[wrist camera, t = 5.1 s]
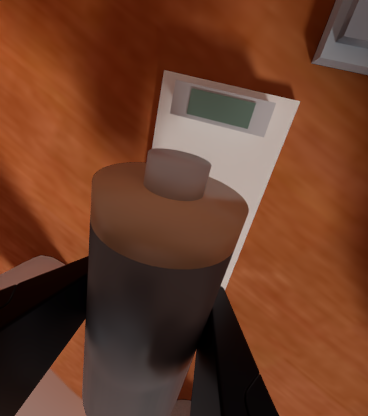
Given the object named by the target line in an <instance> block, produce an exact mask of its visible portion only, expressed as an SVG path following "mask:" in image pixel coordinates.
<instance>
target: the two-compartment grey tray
mask: <svg viewBox="0 0 368 416" xmlns="http://www.w3.org/2000/svg"><path fill="white" fill-rule="evenodd" d="M312 64H317V65H322V66H327V67H331V68H336V69H341V70H346V71H350V72H355V73H360V74H365V75H368V0H336V2H335V4H334V7H333V9H332V12H331V14H330V17H329V20H328V22H327V25H326V27H325V30H324V32H323V35H322V37H321V40H320V43H319V45H318V48H317V50H316V53H315V55H314V58H313V60H312Z"/></svg>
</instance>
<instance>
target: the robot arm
mask: <svg viewBox="0 0 368 416" xmlns="http://www.w3.org/2000/svg"><path fill="white" fill-rule="evenodd" d="M88 259H89V256H87V257H85V258H82V259H80V260H77V261H74V262H72V263H69V264H67V265H64V266H61V267H59V268H56V269H54V270H51V271H49V272H46V273H43V274H41V275H38V276H36V277H33V278H30V279H28V280H25V281H23V282H20V283H18V284H17V285H16V284H15V285H12V286H10V287H7V288H4V289H2V290H0V416H15V414H16V413H17V412H18V410H19V409H20V408H21V406H22V405H23V403H24V402H25V400H26V399H27V398H28V397H29V395H30V394H31V392H32V391H33V390H34V388H35V387H36V386H37V384H38V383H39V382H40V380H41V379H42V378H43V376H44V375H45V373H46V372H47V371H48V369H49V368H50V367H51V365H52V364H53V362H54V361H55V360H56V358H57V357H58V356H59V354H60V353H61V352H62V350H63V349H64V347H65V346H66V345H67V343H68V342H69V341H70V339H71V338H72V336H73V335H74V334H75V332H76V331H77V330H78V328H79V327H80V326H81V324H82V323H83V321H84V320H85V319H86V303H87V281H88ZM190 416H279V414H278V412H277V410H276V408H275V406H274V404H273V402H272V399H271V397H270V395H269V393H268V391H267V388H266V386H265V384H264V381H263V379H262V377H261V375H260V374H259V370H258V368H257V365H256V363H255V360H254V358H253V356H252V353H251V351H250V349H249V346H248V344H247V342H246V339H245V337H244V335H243V332H242V330H241V328H240V325H239V323H238V321H237V318H236V316H235V314H234V311H233V309H232V306H231V304H230V302H229V299H228V297H227V295H226V292H225V290H224V288H223V287H222V286H220V289H219V291H218V294H217V297H216V299H215V302H214V304H213V307H212V310H211V312H210V315H209V317H208V320H207V323H206V325H205V328H204V330H203V333H202V336H201V338H200V341H199V344H198V346H197V350H196V360H195V370H194V380H193V390H192V400H191V409H190Z"/></svg>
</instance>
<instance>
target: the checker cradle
mask: <svg viewBox="0 0 368 416" xmlns="http://www.w3.org/2000/svg"><path fill="white" fill-rule="evenodd" d="M299 103H300V101H297V100H292V99H288V98H284V97H279V96H275V95H271V94H266V93H262V92H258V91H253V90H249V89H245V88H240V87H236V86H232V85H227V84H223V83H219V82H214V81H210V80H206V79H201V78H197V77H193V76H188V75H184V74H179V73H175V72H171V71H166V70H164V74H163V80H162V87H161V93H160V99H159V106H158V112H157V119H156V125H155V132H154V138H153V145H152V149H155V148H164V149H172V150H178V151H183V152H187V153H190V154H193V155H196V156H199V157H201V158H203V159H205V160H207V161H209V162H210V163H211V165H212V166H211V170H210V173H209V177H211V178H213V179H216V180H218V181H220V182H222V183H224V184H225V185H227V186H229V187H230V188H232V189H233V190H235V191H236V192H237V193H239V194H240V195H241V196H242V197H243V198H244V200H245V201H246V203H247V205H248V208H249V213H248V216H247V218H246V221H245V223H244V226H243V229H242V231H241V234H240V237H239V239H238V242H237V244H236V247H235V250H234V252H233V255H232V257H231V260H230V263H229V265H228V268H227V270H226V273H225V276H224V278H223V281H222V283H221V286H222V287H223V288H224V290H225V289H226V286H227V284H228V281H229V279H230V276H231V274H232V271H233V269H234V266H235V264H236V261H237V259H238V256H239V254H240V251H241V249H242V246H243V244H244V241H245V239H246V236H247V234H248V231H249V229H250V226H251V224H252V221H253V219H254V216H255V214H256V211H257V209H258V206H259V203H260V201H261V198H262V196H263V193H264V191H265V188H266V186H267V183H268V181H269V178H270V176H271V173H272V171H273V168H274V166H275V163H276V161H277V158H278V156H279V153H280V151H281V148H282V146H283V143H284V141H285V138H286V136H287V133H288V131H289V128H290V126H291V123H292V121H293V118H294V116H295V113H296V111H297V108H298V106H299Z"/></svg>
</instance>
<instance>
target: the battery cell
mask: <svg viewBox="0 0 368 416" xmlns="http://www.w3.org/2000/svg"><path fill="white" fill-rule="evenodd" d="M211 166H212V165H211V163H210V162H209V161H207V160H205V159H203V158H201V157H199V156H196V155H193V154H190V153H187V152H183V151H178V150H172V149H164V148H155V149H150V150H149V151H148V155H147V162H146V163H144V162H129V163H119V164H114V165H110V166H107V167H104V168H102V169H100V170H99V171H97V172H96V173H95V174H94V176H93V179H92V193H91V215H90V237H89V259H88V281H87V303H86V324H85V346H84V368H83V392H82V398H83V406H84V409H85V413H86V415H87V416H170V414H171V413H172V411H173V408H174V406H175V404H176V401H177V398H178V396H179V393H180V390H181V388H182V385H183V383H184V380H185V377H186V375H187V372H188V370H189V367H190V364H191V362H192V359H193V357H194V354H195V351H196V349H197V346H198V344H199V341H200V338H201V336H202V333H203V330H204V328H205V325H206V323H207V320H208V317H209V315H210V312H211V310H212V307H213V304H214V302H215V299H216V297H217V294H218V291H219V289H220V286H221V283H222V281H223V278H224V276H225V273H226V270H227V268H228V265H229V263H230V260H231V257H232V255H233V252H234V250H235V247H236V244H237V242H238V239H239V237H240V234H241V231H242V229H243V226H244V223H245V221H246V218H247V216H248V213H249V208H248V205H247V203H246V201H245V200H244V198H243V197H242V196H241V195H240V194H239V193H237V192H236V191H235V190H233V189H232V188H230V187H229V186H227V185H225V184H224V183H222V182H220V181H218V180H216V179H213V178H211V177H209V173H210V170H211Z"/></svg>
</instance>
